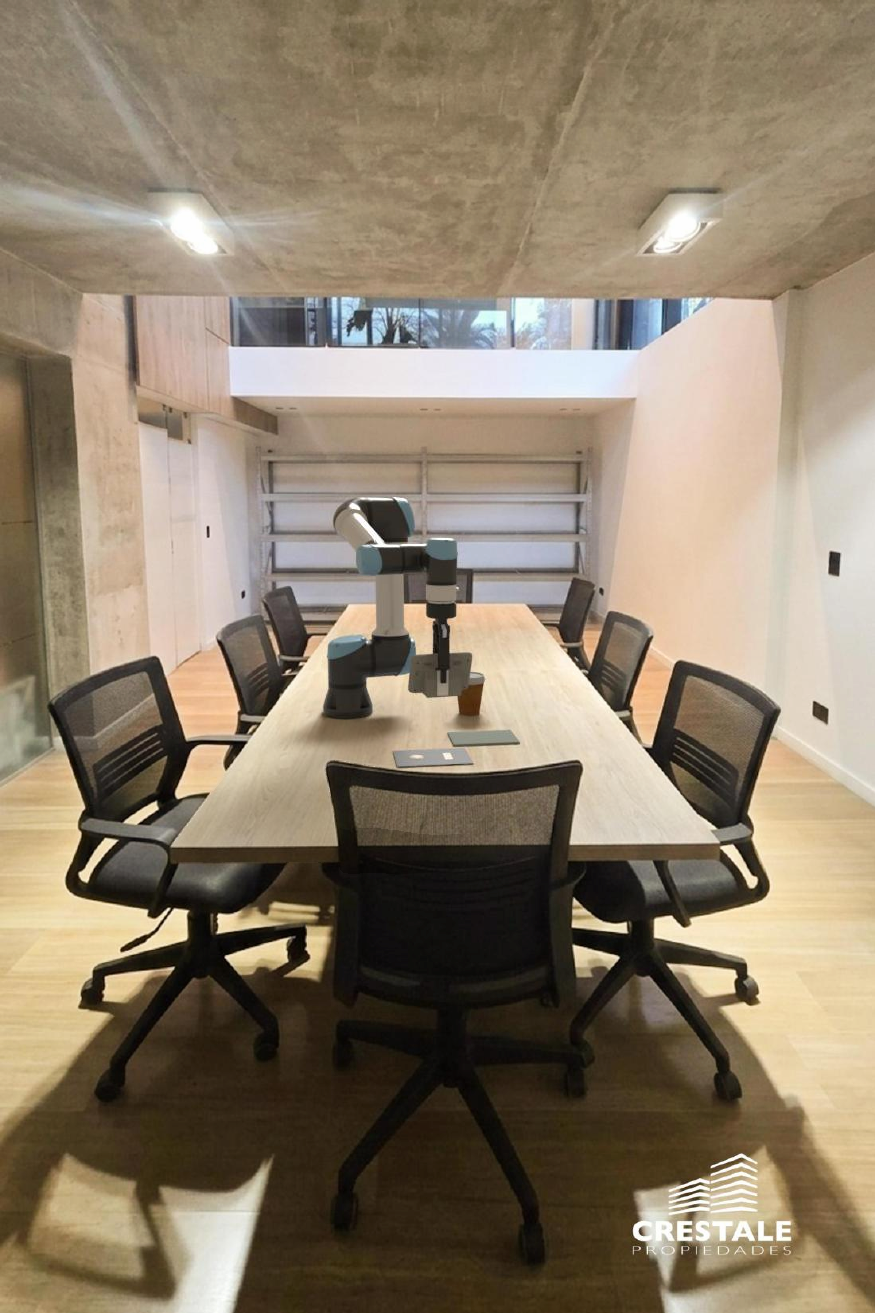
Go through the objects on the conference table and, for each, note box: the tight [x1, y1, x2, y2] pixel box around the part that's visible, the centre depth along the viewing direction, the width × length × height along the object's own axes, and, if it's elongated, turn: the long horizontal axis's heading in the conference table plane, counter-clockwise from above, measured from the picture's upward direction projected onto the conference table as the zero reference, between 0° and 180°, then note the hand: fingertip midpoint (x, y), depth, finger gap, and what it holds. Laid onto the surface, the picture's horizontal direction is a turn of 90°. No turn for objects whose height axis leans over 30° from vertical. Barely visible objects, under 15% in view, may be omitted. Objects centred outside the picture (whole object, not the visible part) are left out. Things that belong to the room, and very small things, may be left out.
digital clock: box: [407, 651, 473, 699], centre depth 194 cm, size 16×9×11 cm, turn 94°
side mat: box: [447, 729, 521, 747], centre depth 211 cm, size 18×11×1 cm, turn 98°
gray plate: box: [392, 747, 474, 768], centre depth 195 cm, size 19×12×1 cm, turn 98°
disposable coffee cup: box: [456, 671, 486, 716], centre depth 235 cm, size 10×10×12 cm
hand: (440, 691), depth 194 cm, fingers closed on digital clock, 7 cm apart
